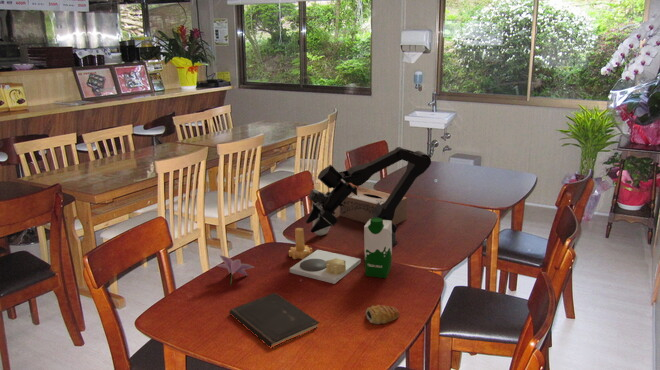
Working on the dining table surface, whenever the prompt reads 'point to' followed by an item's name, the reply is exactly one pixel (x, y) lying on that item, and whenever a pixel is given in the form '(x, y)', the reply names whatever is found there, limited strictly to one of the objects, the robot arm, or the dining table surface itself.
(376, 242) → the milk carton
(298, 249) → the planet gear
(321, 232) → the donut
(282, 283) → the dining table surface
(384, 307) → the pastry
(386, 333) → the dining table surface
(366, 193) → the tissue box cover
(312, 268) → the carrier plate
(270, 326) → the hardcover book
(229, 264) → the lily
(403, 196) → the robot arm
